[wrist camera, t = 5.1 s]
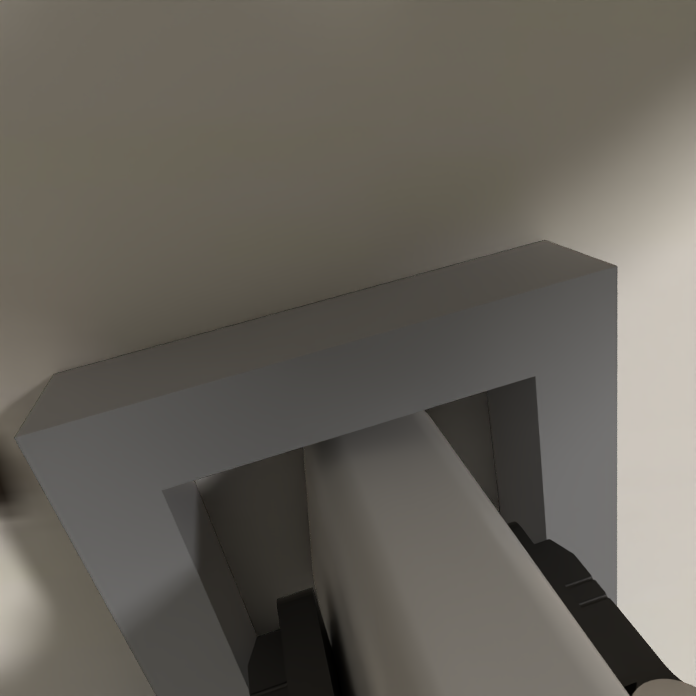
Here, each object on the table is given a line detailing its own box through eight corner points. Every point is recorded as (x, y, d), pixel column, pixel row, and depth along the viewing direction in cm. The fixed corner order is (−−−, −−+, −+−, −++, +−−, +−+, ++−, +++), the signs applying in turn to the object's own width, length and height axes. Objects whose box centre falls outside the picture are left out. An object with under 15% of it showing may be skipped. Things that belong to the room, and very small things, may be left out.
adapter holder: (53, 374, 11) (14, 437, 9) (544, 240, 13) (617, 266, 10) (215, 707, 16) (216, 804, 14) (563, 582, 17) (616, 652, 15)
